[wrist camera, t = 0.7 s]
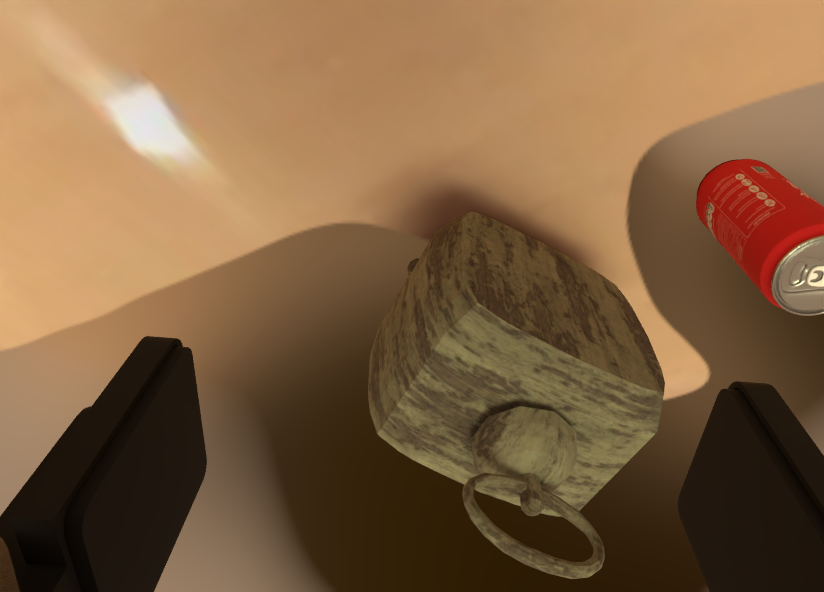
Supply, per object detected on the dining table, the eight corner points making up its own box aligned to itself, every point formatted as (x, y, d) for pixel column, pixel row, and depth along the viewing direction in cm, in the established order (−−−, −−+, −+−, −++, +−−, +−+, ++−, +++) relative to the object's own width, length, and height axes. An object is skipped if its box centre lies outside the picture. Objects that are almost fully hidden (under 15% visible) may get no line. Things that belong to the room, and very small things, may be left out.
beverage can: (700, 152, 41) (784, 229, 31) (781, 154, 41) (893, 232, 31) (682, 225, 44) (754, 318, 34) (758, 227, 44) (854, 321, 34)
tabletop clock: (385, 271, 47) (332, 564, 26) (444, 167, 43) (439, 416, 21) (549, 349, 50) (626, 672, 28) (620, 259, 46) (772, 560, 24)
